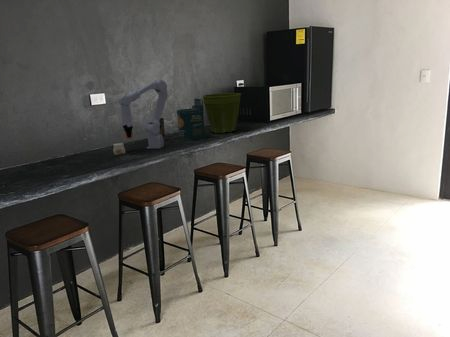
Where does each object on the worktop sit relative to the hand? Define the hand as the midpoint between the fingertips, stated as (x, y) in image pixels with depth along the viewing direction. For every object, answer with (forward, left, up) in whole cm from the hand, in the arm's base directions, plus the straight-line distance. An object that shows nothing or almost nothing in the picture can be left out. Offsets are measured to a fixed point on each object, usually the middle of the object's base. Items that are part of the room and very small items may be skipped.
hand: (128, 136), depth 239 cm
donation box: (-26, -44, -10) cm, 52 cm away
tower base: (+5, +4, -10) cm, 12 cm away
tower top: (+5, +4, -7) cm, 10 cm away
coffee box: (-5, -35, -10) cm, 36 cm away
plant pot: (-43, -72, -10) cm, 84 cm away
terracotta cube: (0, 0, -2) cm, 2 cm away
